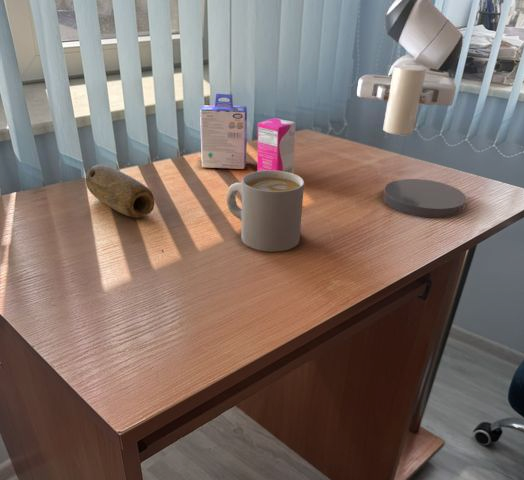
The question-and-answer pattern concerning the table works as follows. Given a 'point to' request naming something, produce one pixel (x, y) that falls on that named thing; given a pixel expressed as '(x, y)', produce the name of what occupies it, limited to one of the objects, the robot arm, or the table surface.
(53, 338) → the table surface
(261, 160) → the supplement box
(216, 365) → the table surface
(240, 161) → the ink cartridge box
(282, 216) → the coffee mug
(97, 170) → the stone weight
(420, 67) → the cream canister
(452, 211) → the slate plate
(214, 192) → the table surface
